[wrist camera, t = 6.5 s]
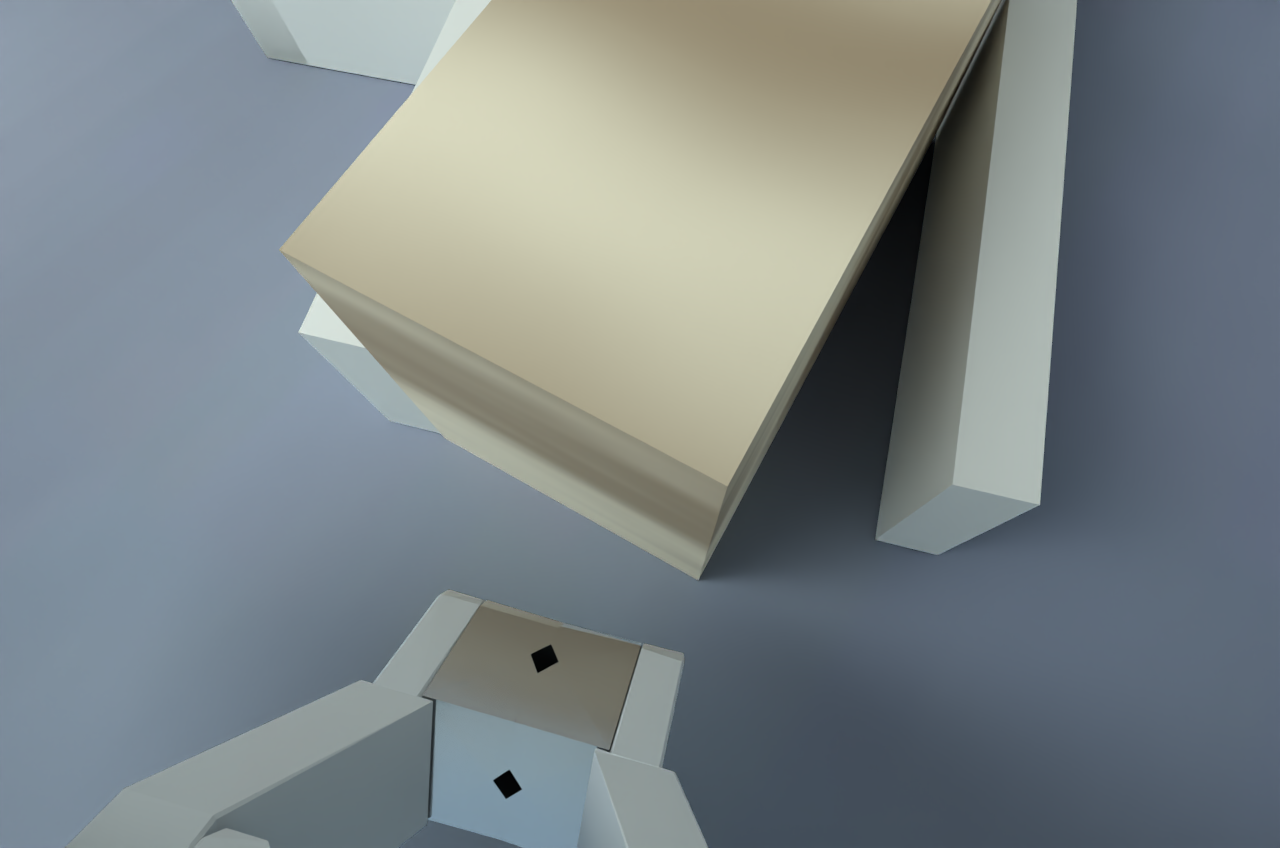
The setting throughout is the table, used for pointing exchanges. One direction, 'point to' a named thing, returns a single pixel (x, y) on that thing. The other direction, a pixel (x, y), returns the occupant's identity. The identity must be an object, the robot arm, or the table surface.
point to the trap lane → (945, 273)
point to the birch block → (634, 234)
